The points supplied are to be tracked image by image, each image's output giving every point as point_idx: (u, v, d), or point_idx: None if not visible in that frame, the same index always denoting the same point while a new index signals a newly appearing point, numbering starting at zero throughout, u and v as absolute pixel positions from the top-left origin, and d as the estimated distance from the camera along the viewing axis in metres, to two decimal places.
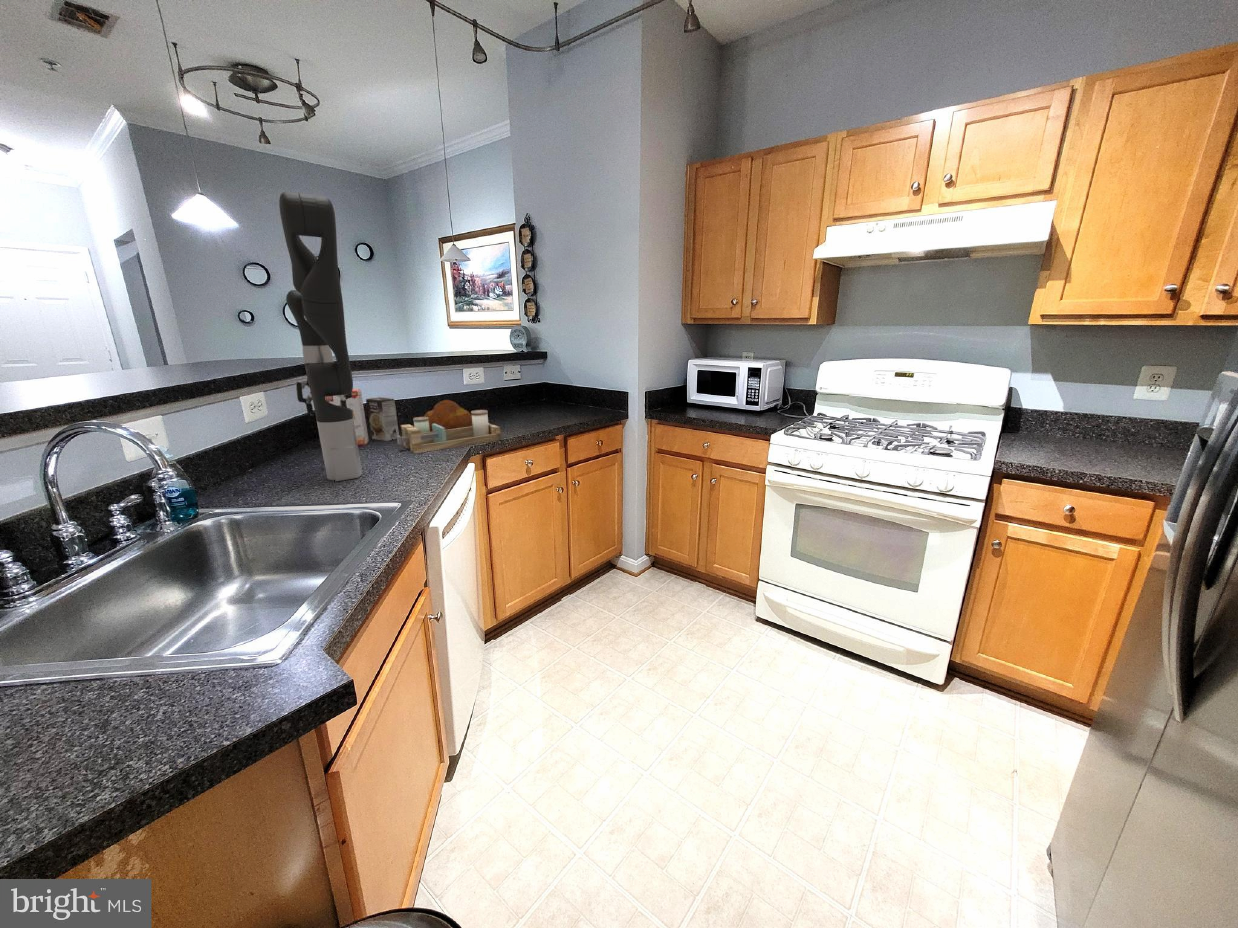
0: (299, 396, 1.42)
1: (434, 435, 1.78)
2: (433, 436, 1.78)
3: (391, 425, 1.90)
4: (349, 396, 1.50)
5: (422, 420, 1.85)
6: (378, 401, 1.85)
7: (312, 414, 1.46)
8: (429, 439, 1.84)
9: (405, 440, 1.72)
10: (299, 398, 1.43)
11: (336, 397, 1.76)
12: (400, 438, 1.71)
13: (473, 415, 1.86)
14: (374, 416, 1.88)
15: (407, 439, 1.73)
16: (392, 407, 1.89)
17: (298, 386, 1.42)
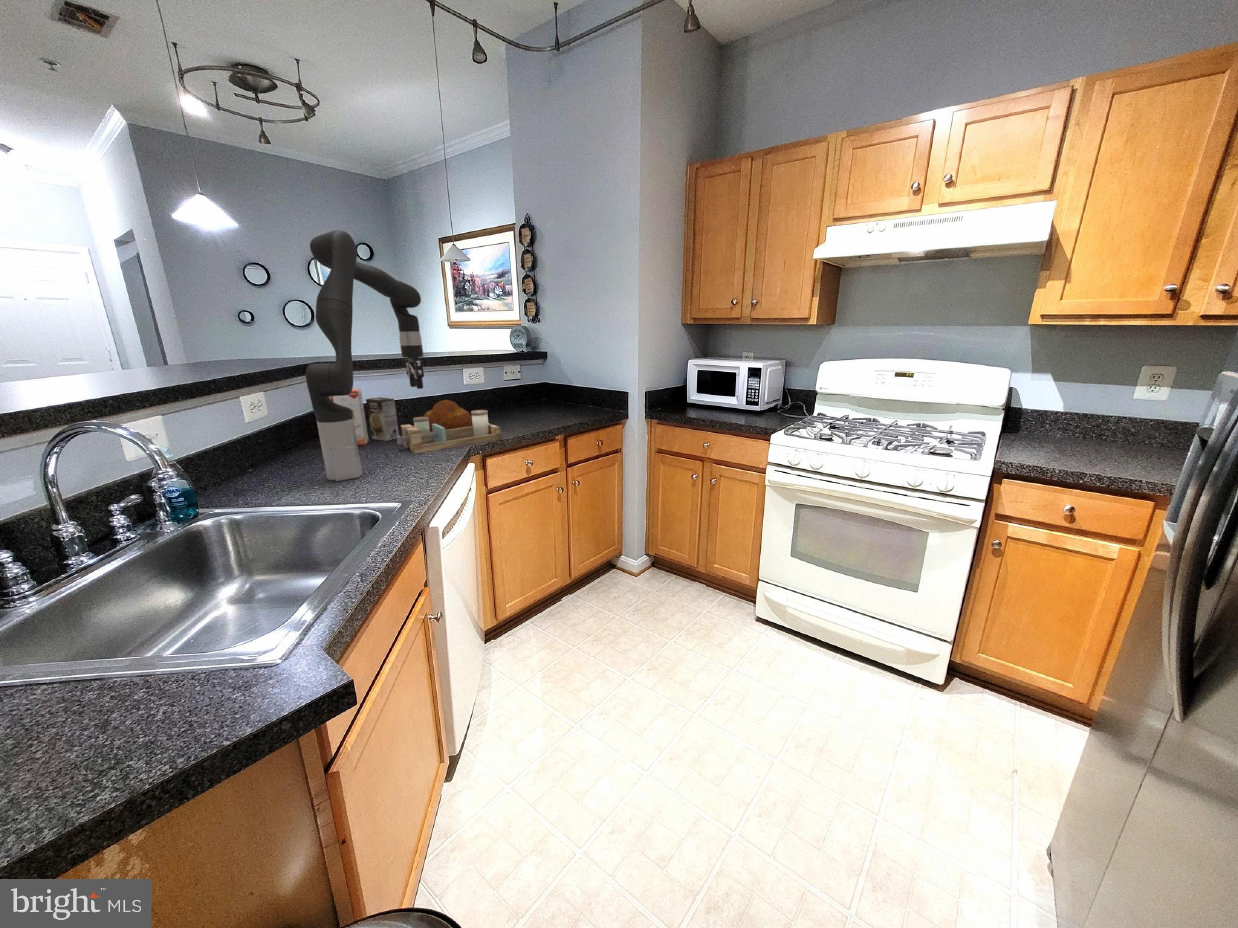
0: None
1: (434, 435, 1.78)
2: (433, 436, 1.78)
3: (391, 425, 1.90)
4: None
5: (422, 420, 1.85)
6: (378, 401, 1.85)
7: None
8: (429, 439, 1.84)
9: (405, 440, 1.72)
10: None
11: (336, 397, 1.76)
12: (400, 438, 1.71)
13: (473, 415, 1.86)
14: (374, 416, 1.88)
15: (407, 439, 1.73)
16: (392, 407, 1.89)
17: None
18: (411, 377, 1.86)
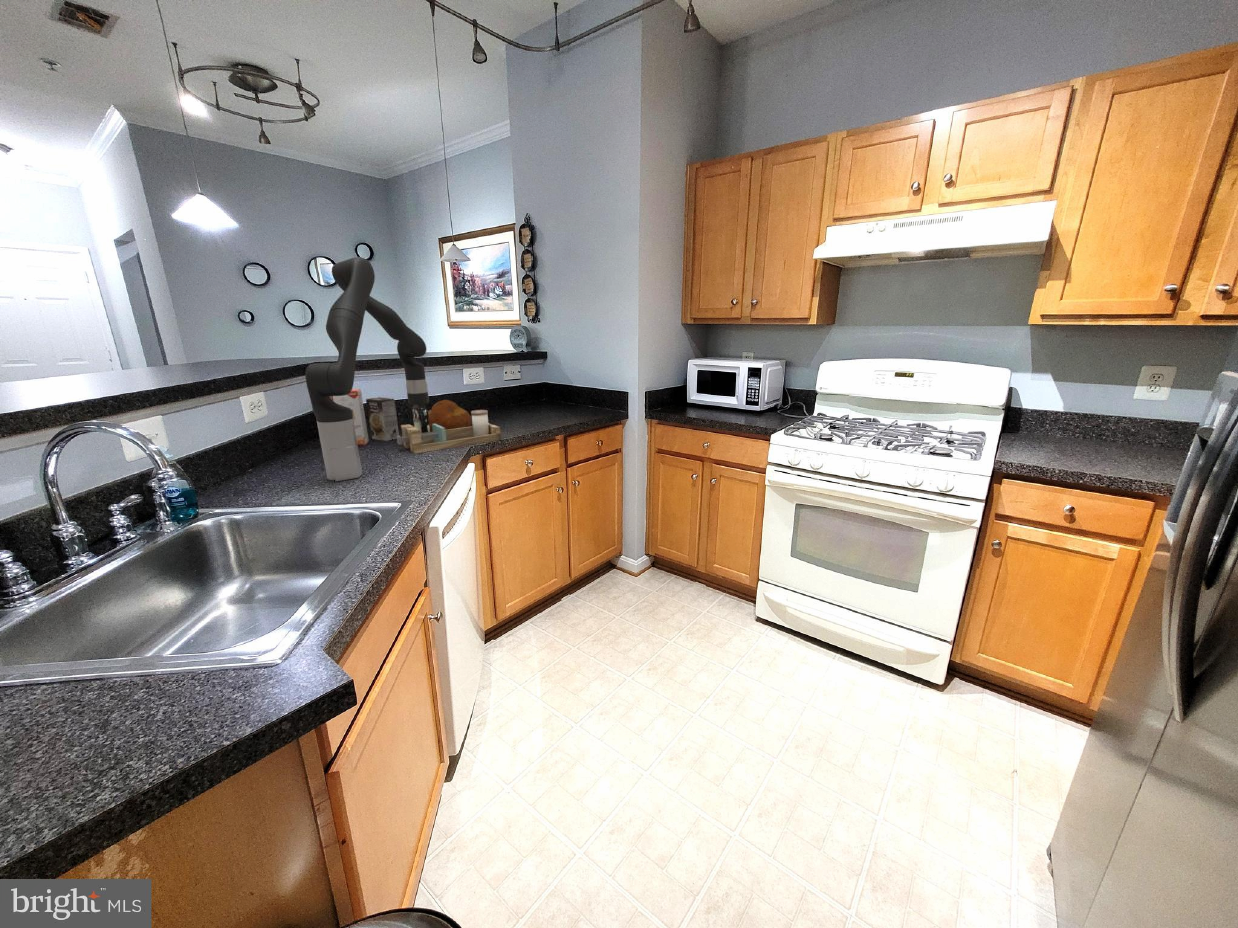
0: None
1: (434, 435, 1.78)
2: (433, 436, 1.78)
3: (391, 425, 1.90)
4: None
5: None
6: (378, 401, 1.85)
7: None
8: (429, 439, 1.84)
9: (405, 440, 1.72)
10: None
11: (336, 397, 1.76)
12: (400, 438, 1.71)
13: (473, 415, 1.86)
14: (374, 416, 1.88)
15: (407, 439, 1.73)
16: (392, 407, 1.89)
17: None
18: None
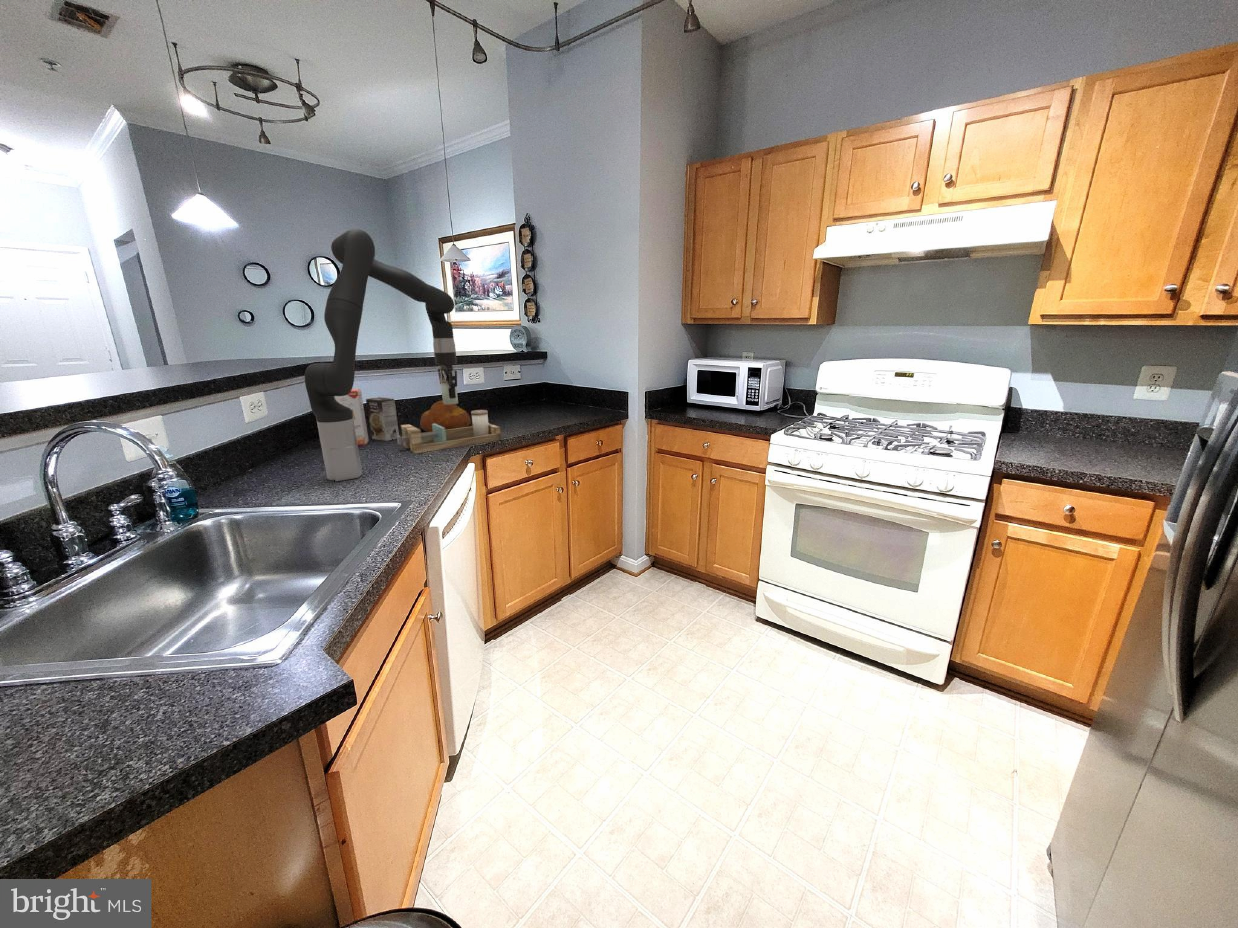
0: None
1: (434, 435, 1.78)
2: (433, 436, 1.78)
3: (391, 425, 1.90)
4: None
5: None
6: (378, 401, 1.85)
7: None
8: (429, 439, 1.84)
9: (405, 440, 1.72)
10: None
11: (336, 397, 1.76)
12: (400, 438, 1.71)
13: (473, 415, 1.86)
14: (374, 416, 1.88)
15: (407, 439, 1.73)
16: (392, 407, 1.89)
17: None
18: None
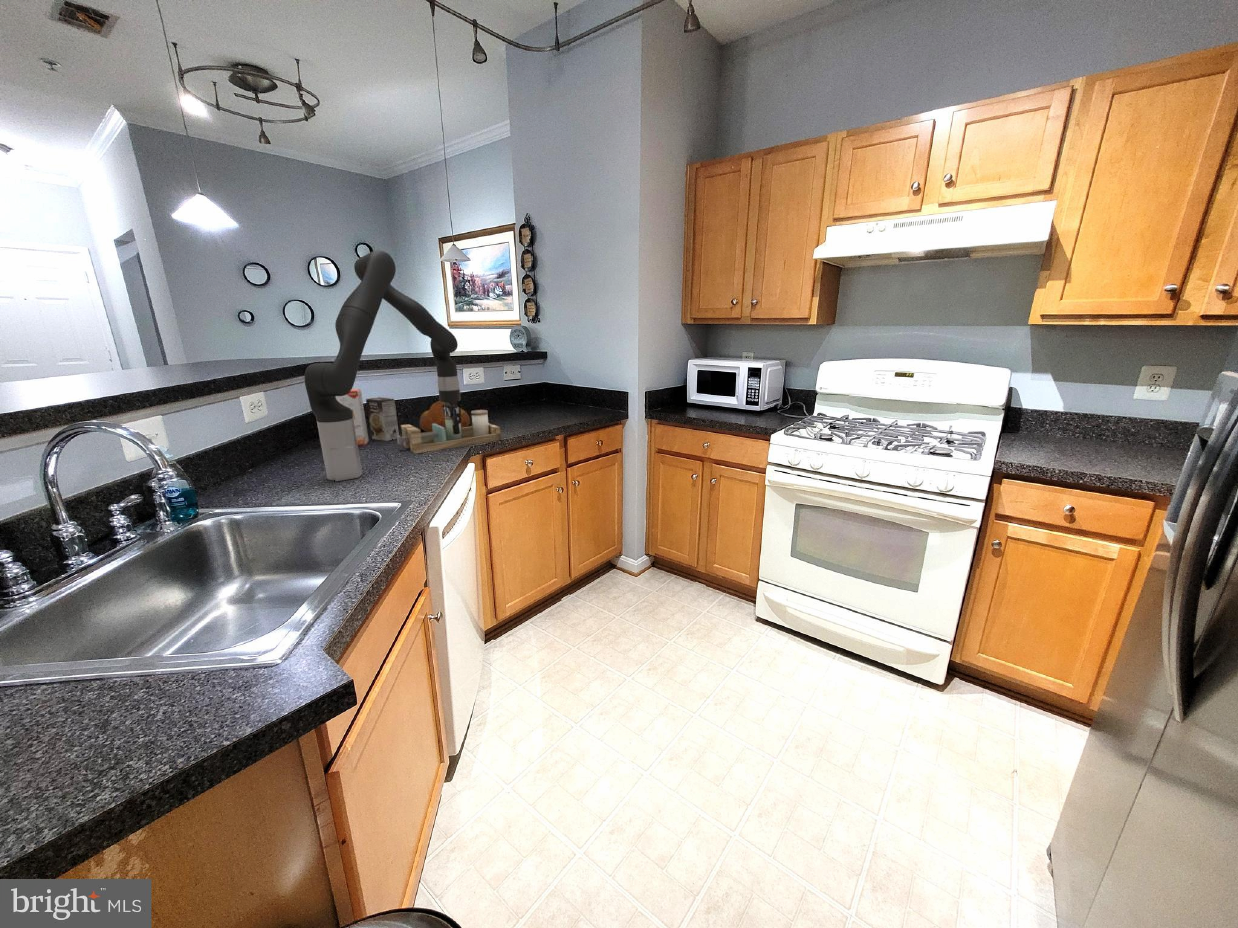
0: None
1: (434, 435, 1.78)
2: (433, 436, 1.78)
3: (391, 425, 1.90)
4: None
5: None
6: (378, 401, 1.85)
7: None
8: (429, 439, 1.84)
9: (405, 440, 1.72)
10: None
11: (336, 397, 1.76)
12: (400, 438, 1.71)
13: (473, 415, 1.86)
14: (374, 416, 1.88)
15: (407, 439, 1.73)
16: (392, 407, 1.89)
17: None
18: None
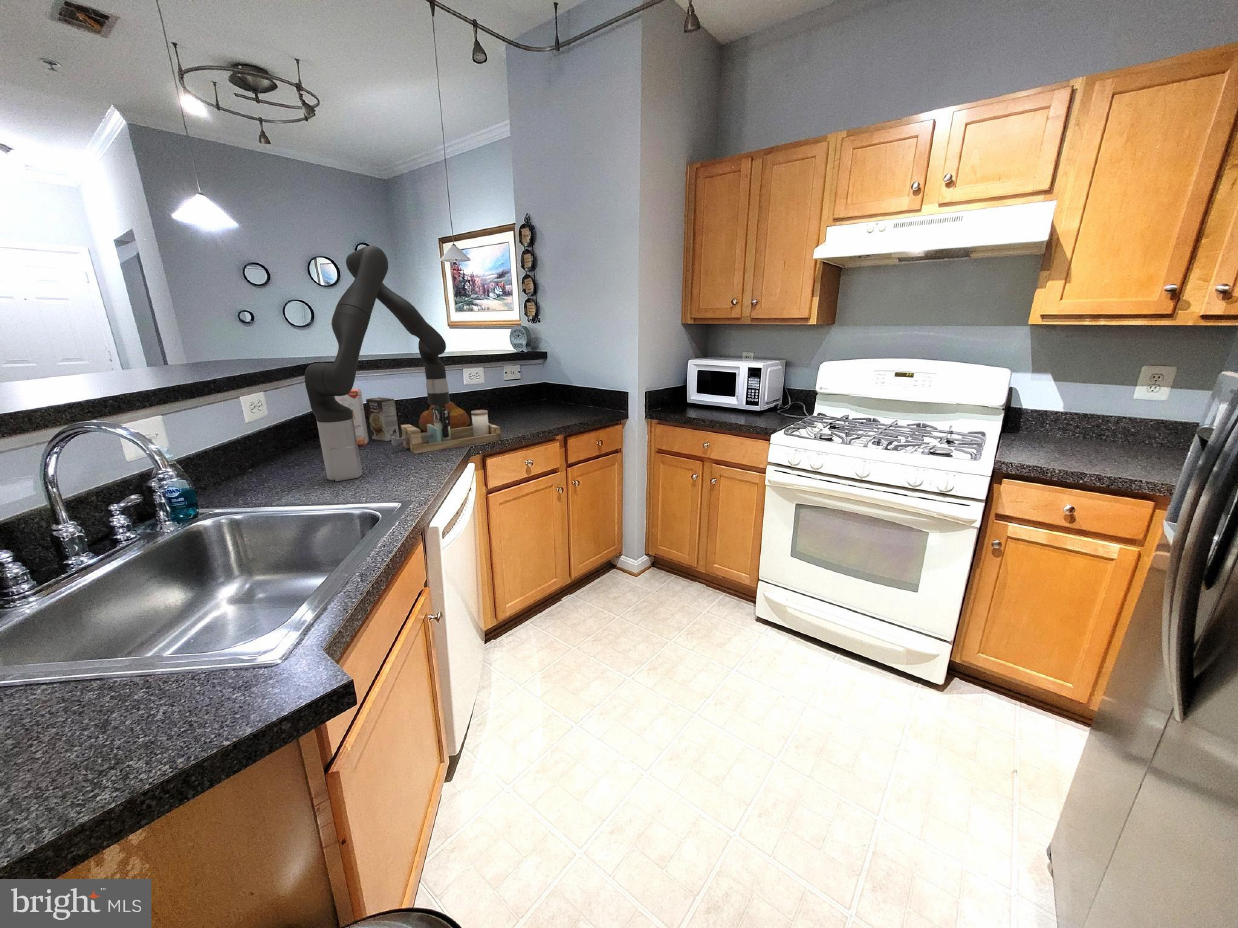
0: None
1: (429, 436, 1.77)
2: (428, 437, 1.77)
3: (391, 425, 1.90)
4: None
5: None
6: (378, 401, 1.85)
7: None
8: None
9: (399, 441, 1.71)
10: None
11: (336, 397, 1.76)
12: (394, 439, 1.70)
13: (473, 415, 1.86)
14: (374, 416, 1.88)
15: (401, 440, 1.72)
16: (392, 407, 1.89)
17: None
18: None
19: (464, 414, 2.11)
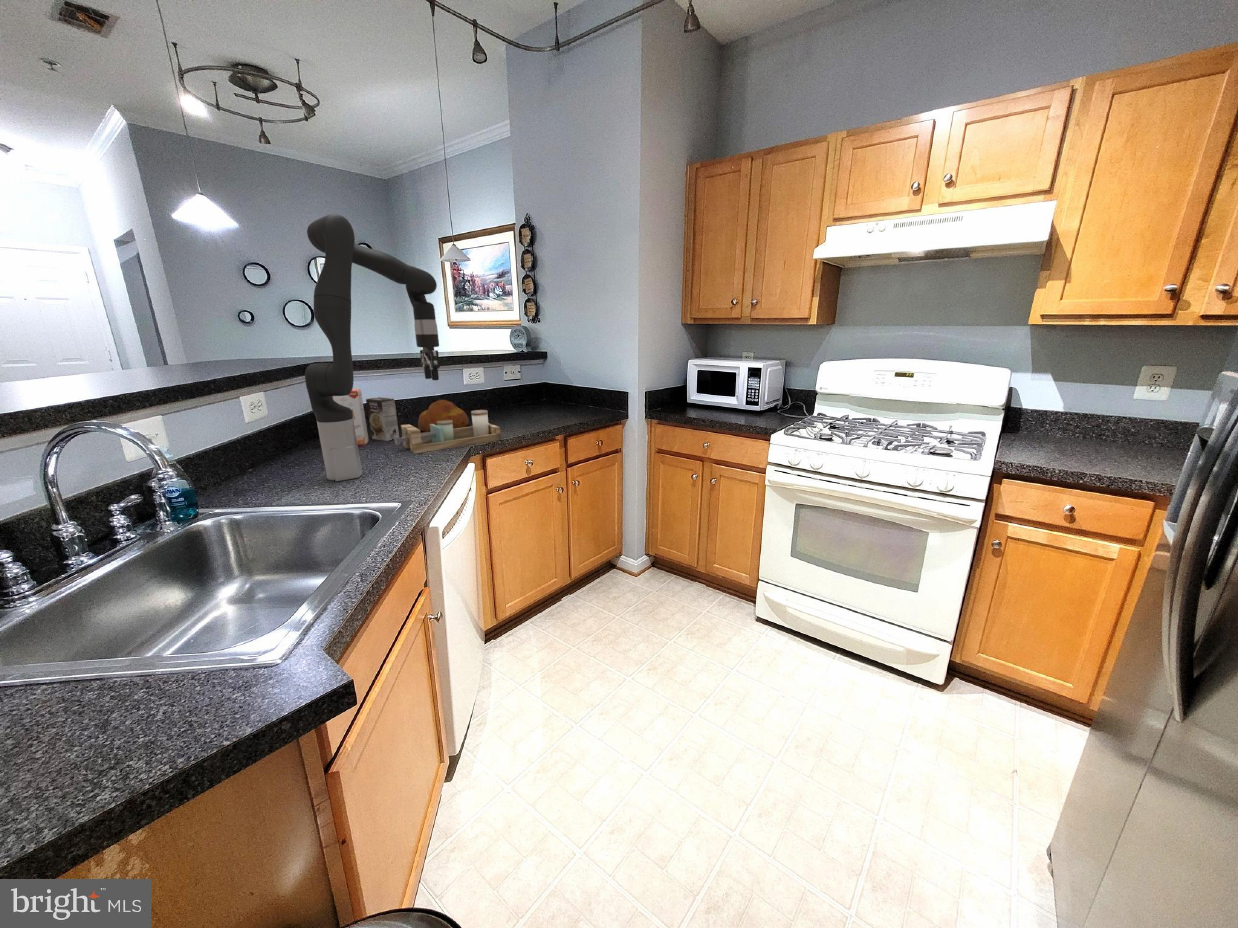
0: None
1: (432, 435, 1.78)
2: (431, 436, 1.78)
3: (391, 425, 1.90)
4: None
5: (446, 423, 1.78)
6: (378, 401, 1.85)
7: None
8: (429, 439, 1.84)
9: (403, 440, 1.72)
10: None
11: (336, 397, 1.76)
12: (398, 438, 1.70)
13: (473, 415, 1.86)
14: (374, 416, 1.88)
15: (405, 439, 1.72)
16: (392, 407, 1.89)
17: None
18: (426, 368, 1.76)
19: (463, 414, 2.11)
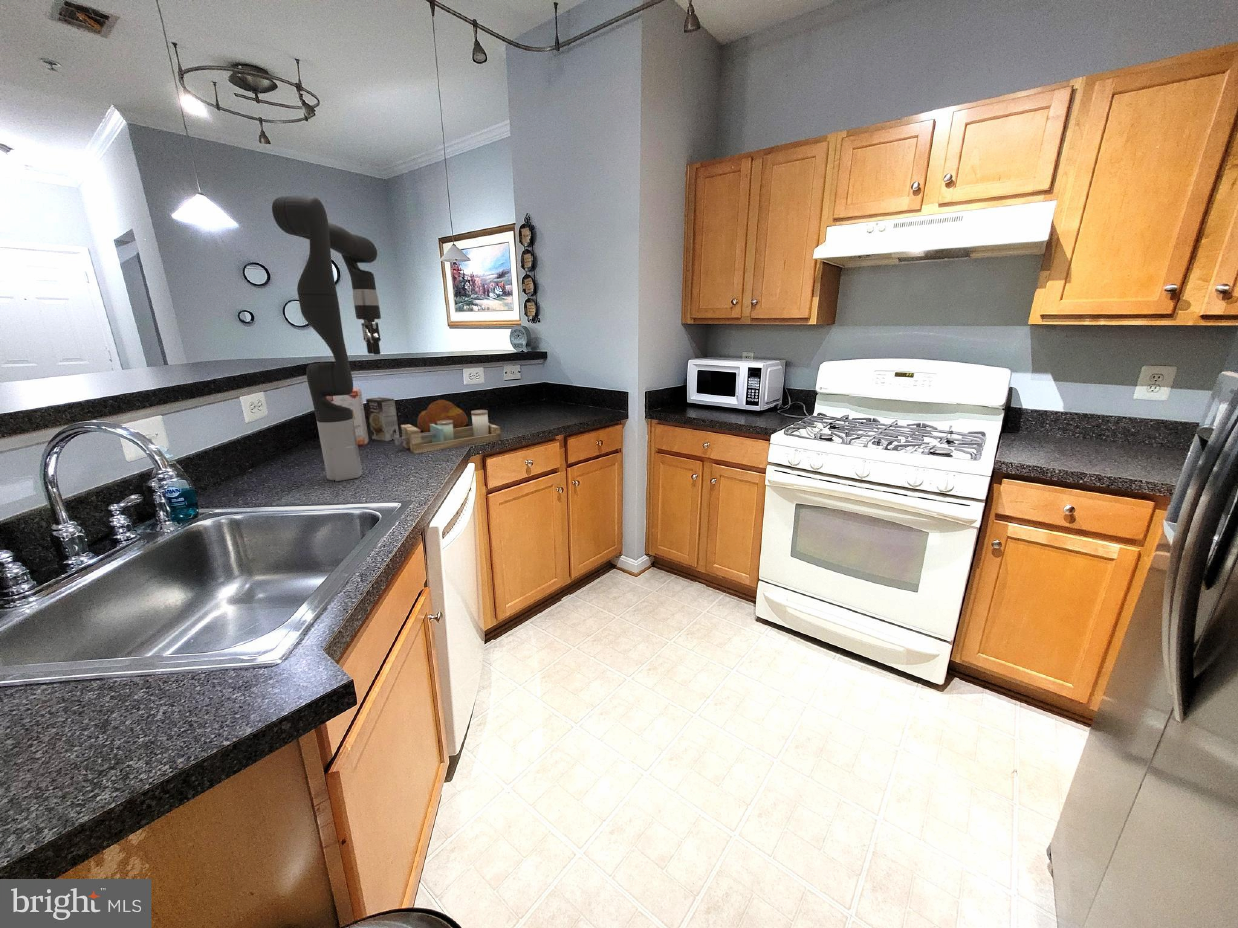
0: None
1: (432, 435, 1.78)
2: (431, 436, 1.78)
3: (391, 425, 1.90)
4: None
5: (446, 423, 1.78)
6: (378, 401, 1.85)
7: None
8: (429, 439, 1.84)
9: (403, 440, 1.72)
10: None
11: (336, 397, 1.76)
12: (398, 438, 1.70)
13: (473, 415, 1.86)
14: (374, 416, 1.88)
15: (405, 439, 1.72)
16: (392, 407, 1.89)
17: None
18: (368, 343, 1.67)
19: (462, 414, 2.11)
